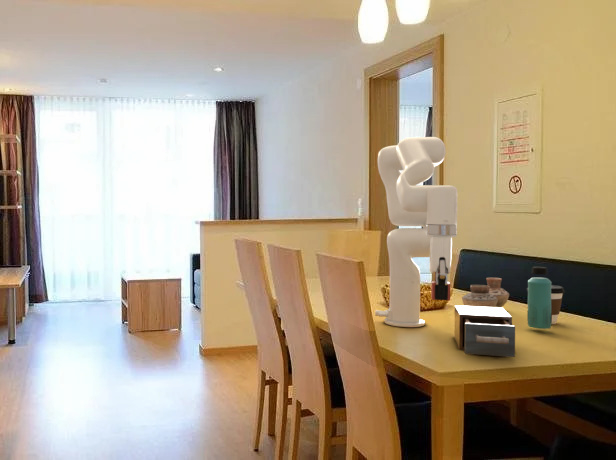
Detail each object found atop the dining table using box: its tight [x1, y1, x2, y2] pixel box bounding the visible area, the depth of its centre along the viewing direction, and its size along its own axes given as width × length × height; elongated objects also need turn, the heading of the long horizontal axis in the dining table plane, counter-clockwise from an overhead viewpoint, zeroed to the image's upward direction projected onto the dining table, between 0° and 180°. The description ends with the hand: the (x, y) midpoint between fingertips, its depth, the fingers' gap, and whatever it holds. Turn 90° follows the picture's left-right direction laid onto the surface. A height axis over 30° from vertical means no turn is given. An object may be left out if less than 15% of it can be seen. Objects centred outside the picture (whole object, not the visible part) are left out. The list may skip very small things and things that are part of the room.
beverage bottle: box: [526, 266, 553, 330], centre depth 177 cm, size 6×7×20 cm
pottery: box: [461, 277, 510, 308], centre depth 207 cm, size 11×25×12 cm, turn 136°
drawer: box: [463, 317, 516, 358], centre depth 150 cm, size 18×11×8 cm, turn 161°
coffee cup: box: [526, 284, 566, 325], centre depth 191 cm, size 11×11×12 cm
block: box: [430, 280, 451, 301], centre depth 157 cm, size 4×4×4 cm
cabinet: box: [453, 305, 513, 351], centre depth 161 cm, size 15×13×10 cm
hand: (440, 297), depth 157 cm, fingers closed on block, 4 cm apart
